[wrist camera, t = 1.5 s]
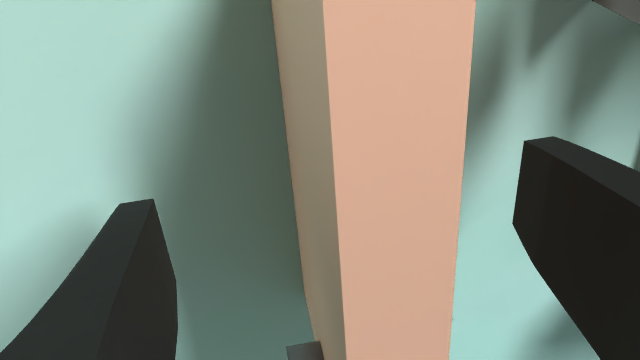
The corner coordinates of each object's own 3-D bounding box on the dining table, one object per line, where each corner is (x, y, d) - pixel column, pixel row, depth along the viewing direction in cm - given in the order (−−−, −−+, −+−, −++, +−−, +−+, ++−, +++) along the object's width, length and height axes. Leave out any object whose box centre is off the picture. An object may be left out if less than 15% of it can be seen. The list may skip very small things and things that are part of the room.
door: (357, 285, 18) (436, 522, 12) (277, 299, 17) (318, 548, 12) (338, -126, 12) (480, -51, 6) (215, -114, 11) (237, -21, 6)
